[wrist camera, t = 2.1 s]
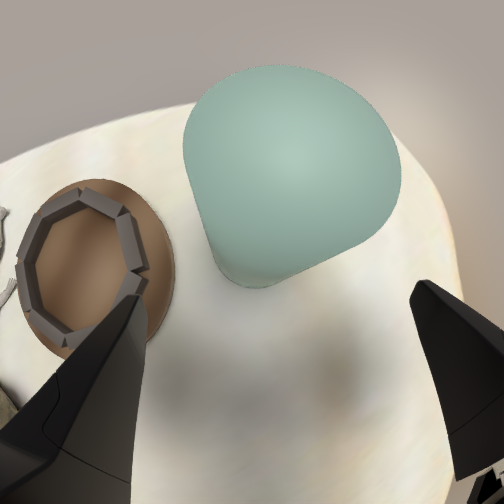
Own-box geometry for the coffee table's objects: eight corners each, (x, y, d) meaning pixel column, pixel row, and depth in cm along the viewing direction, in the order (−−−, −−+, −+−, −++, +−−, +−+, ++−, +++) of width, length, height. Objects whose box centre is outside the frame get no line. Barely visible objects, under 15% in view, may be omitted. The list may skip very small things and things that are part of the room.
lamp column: (310, 225, 20) (412, 121, 7) (277, 302, 19) (369, 297, 6) (235, 190, 20) (245, 45, 7) (197, 264, 19) (138, 190, 6)
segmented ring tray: (206, 229, 19) (202, 213, 16) (132, 392, 17) (114, 408, 13) (75, 168, 19) (56, 149, 16) (14, 305, 17) (-12, 303, 14)
